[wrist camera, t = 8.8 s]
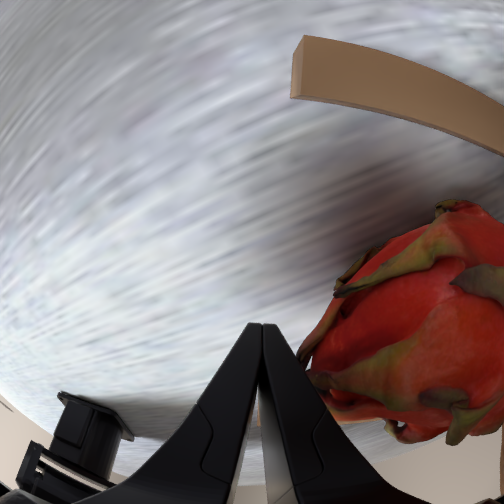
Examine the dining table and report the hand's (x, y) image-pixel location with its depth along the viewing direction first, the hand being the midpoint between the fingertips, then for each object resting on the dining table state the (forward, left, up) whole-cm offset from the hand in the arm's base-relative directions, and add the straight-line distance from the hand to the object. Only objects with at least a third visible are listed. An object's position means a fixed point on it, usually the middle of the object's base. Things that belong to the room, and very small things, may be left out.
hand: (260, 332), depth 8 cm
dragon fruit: (+1, -7, -3) cm, 7 cm away
